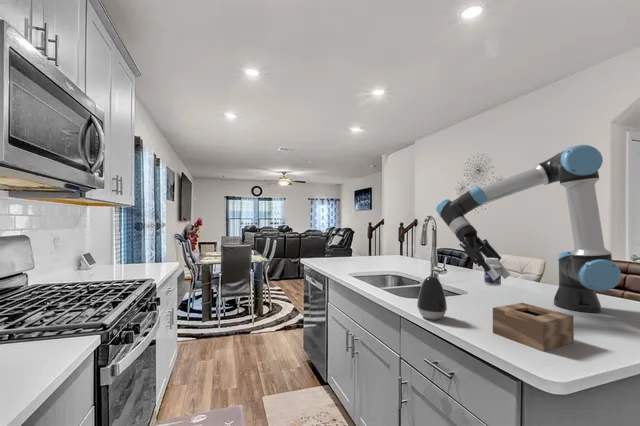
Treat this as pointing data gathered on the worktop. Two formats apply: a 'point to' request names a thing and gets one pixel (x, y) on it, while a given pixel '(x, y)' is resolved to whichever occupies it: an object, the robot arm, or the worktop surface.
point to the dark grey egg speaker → (432, 299)
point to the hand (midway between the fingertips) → (501, 277)
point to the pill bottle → (497, 267)
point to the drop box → (533, 326)
